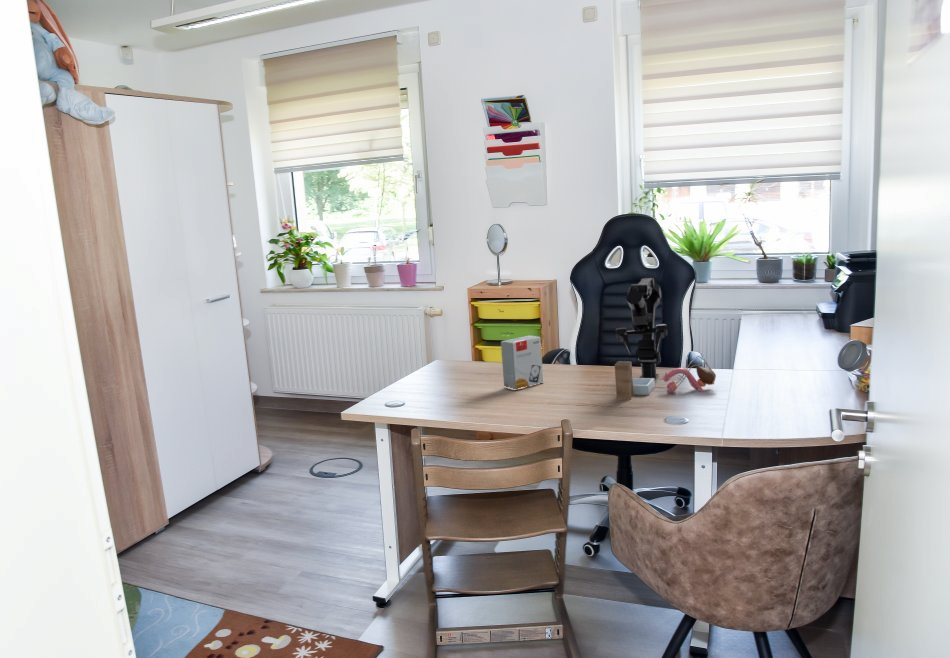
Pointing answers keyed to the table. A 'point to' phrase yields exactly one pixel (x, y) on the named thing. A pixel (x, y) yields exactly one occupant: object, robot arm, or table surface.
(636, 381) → the bin
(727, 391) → the table surface
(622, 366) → the walnut block
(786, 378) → the table surface
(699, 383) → the anatomy model
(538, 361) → the hard drive box
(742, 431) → the table surface
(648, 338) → the robot arm
